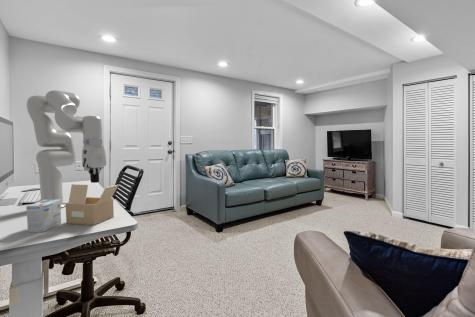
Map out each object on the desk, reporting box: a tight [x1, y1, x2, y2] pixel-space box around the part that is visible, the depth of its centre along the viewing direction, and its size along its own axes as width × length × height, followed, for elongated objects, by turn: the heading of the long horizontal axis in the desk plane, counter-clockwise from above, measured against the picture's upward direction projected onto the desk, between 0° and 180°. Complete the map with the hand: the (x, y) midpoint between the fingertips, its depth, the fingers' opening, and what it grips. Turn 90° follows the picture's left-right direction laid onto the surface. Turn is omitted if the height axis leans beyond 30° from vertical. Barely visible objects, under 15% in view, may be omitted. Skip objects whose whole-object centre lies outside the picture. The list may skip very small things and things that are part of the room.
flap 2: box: [97, 184, 119, 203], centre depth 108 cm, size 8×8×1 cm
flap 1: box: [68, 183, 89, 204], centre depth 105 cm, size 8×8×1 cm
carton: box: [65, 196, 115, 226], centre depth 110 cm, size 14×13×9 cm
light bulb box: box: [25, 199, 62, 233], centre depth 100 cm, size 11×7×11 cm, turn 5°
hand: (94, 182), depth 113 cm, fingers closed
